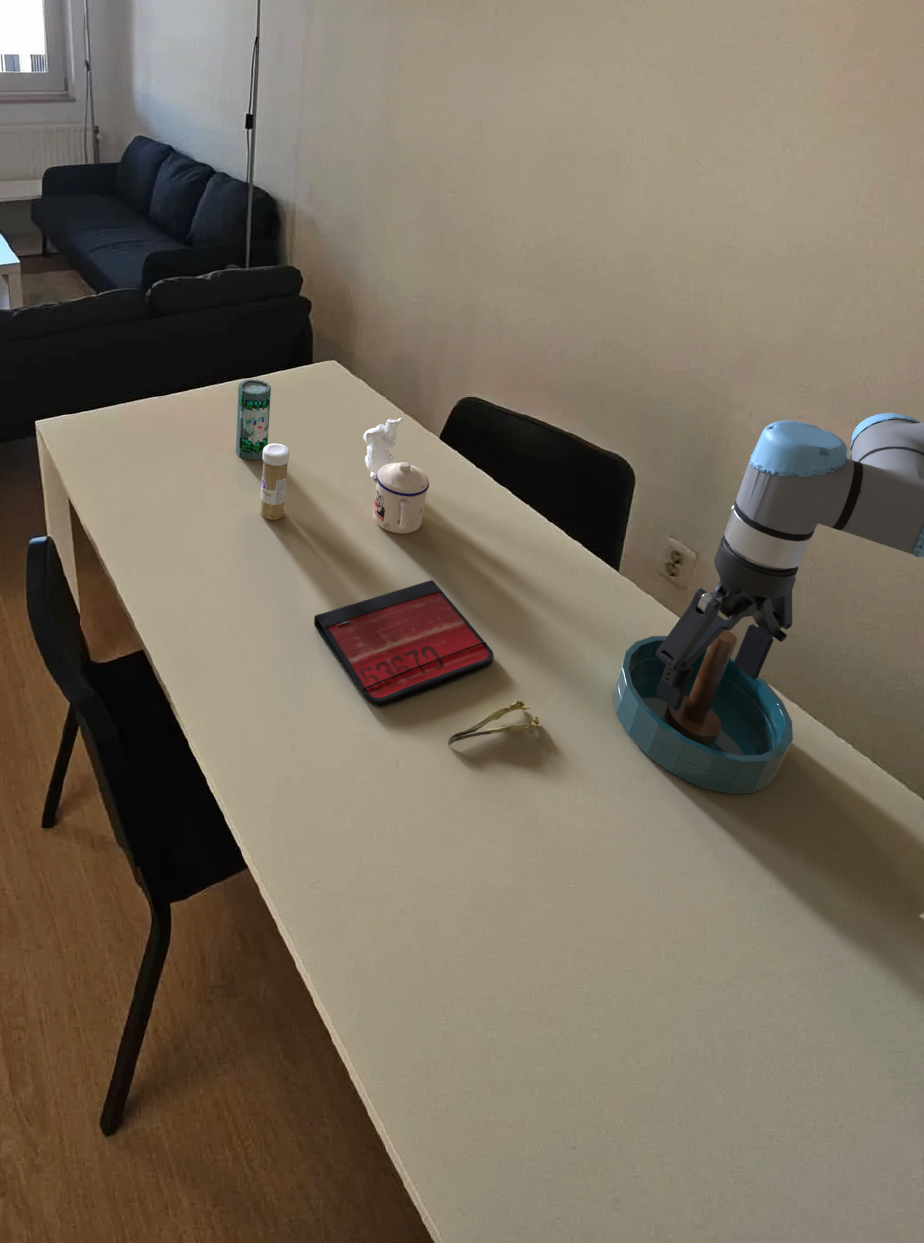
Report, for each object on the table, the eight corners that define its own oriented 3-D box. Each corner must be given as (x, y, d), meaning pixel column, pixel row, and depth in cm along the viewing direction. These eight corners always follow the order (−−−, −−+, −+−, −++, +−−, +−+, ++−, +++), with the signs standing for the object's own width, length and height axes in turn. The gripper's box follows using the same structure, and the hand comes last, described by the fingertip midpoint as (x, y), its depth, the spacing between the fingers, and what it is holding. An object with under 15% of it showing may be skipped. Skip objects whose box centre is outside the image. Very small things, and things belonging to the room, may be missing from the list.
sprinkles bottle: (254, 511, 134) (257, 447, 128) (273, 502, 136) (277, 439, 131) (270, 524, 131) (274, 459, 125) (290, 515, 133) (294, 451, 128)
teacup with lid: (369, 501, 138) (376, 448, 133) (419, 506, 137) (428, 452, 132) (374, 544, 127) (381, 487, 122) (428, 549, 126) (437, 492, 121)
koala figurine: (388, 461, 150) (395, 409, 146) (406, 479, 145) (414, 426, 140) (351, 468, 148) (357, 415, 143) (368, 487, 142) (374, 433, 137)
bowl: (811, 767, 91) (829, 733, 89) (703, 818, 85) (718, 783, 82) (681, 653, 107) (692, 622, 105) (581, 689, 101) (591, 656, 98)
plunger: (728, 735, 94) (766, 647, 88) (694, 750, 92) (730, 661, 86) (687, 698, 99) (720, 612, 93) (654, 711, 97) (686, 624, 91)
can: (243, 462, 148) (246, 395, 142) (232, 446, 153) (234, 382, 147) (271, 457, 150) (275, 391, 144) (259, 441, 155) (263, 377, 149)
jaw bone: (441, 737, 93) (444, 725, 92) (519, 706, 98) (523, 695, 98) (463, 765, 90) (466, 754, 89) (543, 732, 95) (547, 721, 94)
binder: (314, 613, 108) (432, 577, 116) (312, 625, 109) (429, 588, 117) (373, 703, 95) (501, 656, 103) (371, 716, 96) (498, 668, 104)
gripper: (801, 509, 92) (748, 638, 100) (651, 552, 83) (608, 689, 92) (866, 547, 86) (804, 681, 94) (711, 598, 77) (658, 741, 85)
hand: (707, 685), depth 93 cm, fingers open, 13 cm apart
